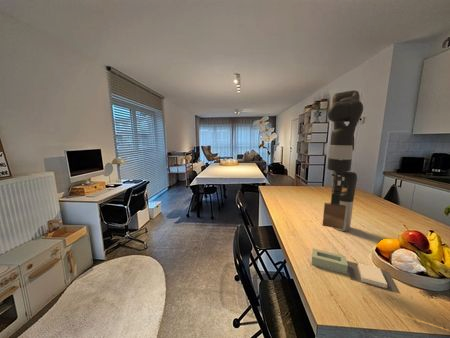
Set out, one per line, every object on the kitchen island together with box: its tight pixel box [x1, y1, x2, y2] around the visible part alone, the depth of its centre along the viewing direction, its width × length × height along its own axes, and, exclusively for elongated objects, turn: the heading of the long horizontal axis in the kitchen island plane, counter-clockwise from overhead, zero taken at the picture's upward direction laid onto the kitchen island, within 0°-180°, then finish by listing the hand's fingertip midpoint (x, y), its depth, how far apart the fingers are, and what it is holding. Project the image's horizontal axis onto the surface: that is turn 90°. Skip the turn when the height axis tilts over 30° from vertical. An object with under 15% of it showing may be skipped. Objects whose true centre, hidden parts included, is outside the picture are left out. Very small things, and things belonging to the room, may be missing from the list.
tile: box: [357, 262, 387, 288], centre depth 70 cm, size 2×7×9 cm
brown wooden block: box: [322, 188, 346, 229], centre depth 73 cm, size 2×7×15 cm, turn 64°
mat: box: [347, 260, 401, 294], centre depth 71 cm, size 12×14×1 cm
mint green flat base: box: [310, 247, 348, 275], centre depth 77 cm, size 7×12×4 cm, turn 64°
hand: (335, 202), depth 73 cm, fingers closed on brown wooden block, 2 cm apart
